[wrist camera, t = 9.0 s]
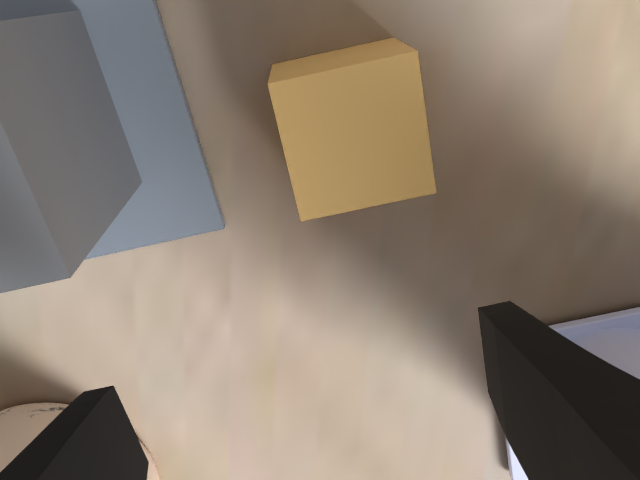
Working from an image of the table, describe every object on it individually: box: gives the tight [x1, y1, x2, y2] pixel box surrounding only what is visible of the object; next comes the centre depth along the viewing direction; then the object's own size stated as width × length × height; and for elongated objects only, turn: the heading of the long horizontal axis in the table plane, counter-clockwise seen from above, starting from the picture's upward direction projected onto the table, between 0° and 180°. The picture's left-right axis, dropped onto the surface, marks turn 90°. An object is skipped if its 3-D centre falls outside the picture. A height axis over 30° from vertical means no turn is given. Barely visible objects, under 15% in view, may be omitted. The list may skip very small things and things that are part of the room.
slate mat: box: [0, 0, 225, 260], centre depth 19 cm, size 10×10×1 cm
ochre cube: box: [268, 37, 436, 221], centre depth 18 cm, size 4×4×4 cm
